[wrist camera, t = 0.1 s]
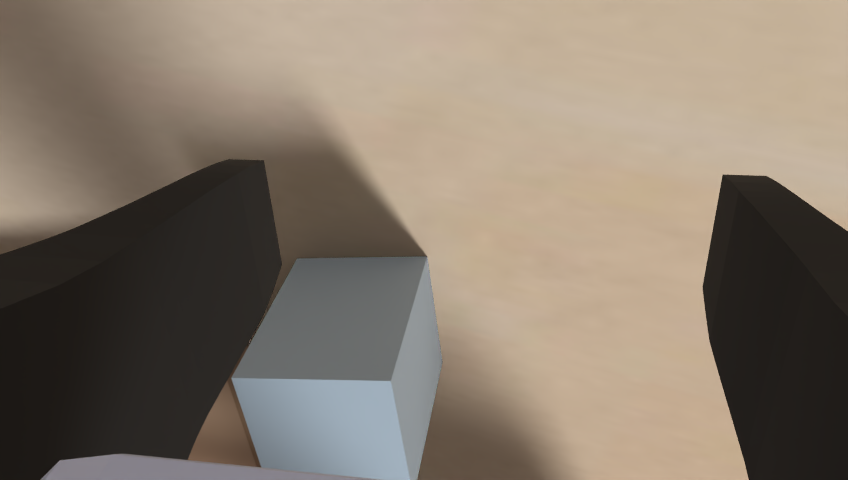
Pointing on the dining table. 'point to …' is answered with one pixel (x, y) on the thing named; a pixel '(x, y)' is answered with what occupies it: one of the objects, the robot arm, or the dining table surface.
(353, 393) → the slate block
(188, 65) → the dining table surface
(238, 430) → the walnut base
